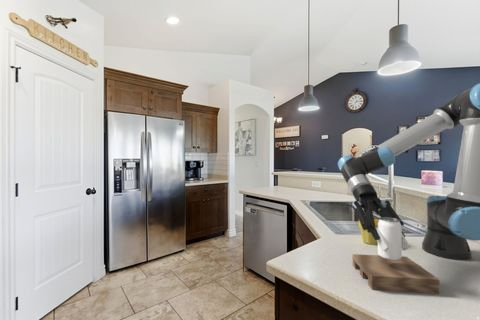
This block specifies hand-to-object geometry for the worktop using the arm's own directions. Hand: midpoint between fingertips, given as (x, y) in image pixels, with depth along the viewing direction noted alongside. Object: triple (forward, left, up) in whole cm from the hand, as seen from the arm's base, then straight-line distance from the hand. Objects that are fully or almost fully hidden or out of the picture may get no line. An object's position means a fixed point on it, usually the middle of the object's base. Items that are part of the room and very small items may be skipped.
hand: (396, 248), depth 73 cm
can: (+1, -3, -4) cm, 5 cm away
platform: (0, -3, -10) cm, 11 cm away
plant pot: (-8, -37, -11) cm, 39 cm away
